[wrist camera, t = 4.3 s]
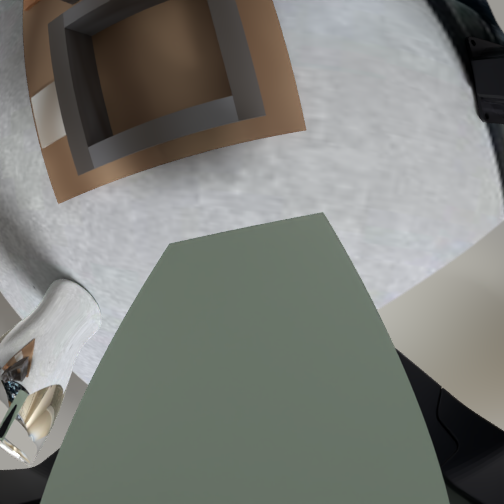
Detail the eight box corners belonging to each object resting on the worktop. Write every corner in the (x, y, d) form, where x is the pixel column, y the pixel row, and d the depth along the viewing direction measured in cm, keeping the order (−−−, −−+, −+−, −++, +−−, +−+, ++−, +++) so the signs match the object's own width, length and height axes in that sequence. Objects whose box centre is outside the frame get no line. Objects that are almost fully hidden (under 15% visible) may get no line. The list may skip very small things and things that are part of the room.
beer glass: (42, 306, 22) (-36, 416, 9) (53, 258, 19) (-58, 385, 6) (96, 346, 24) (35, 472, 10) (116, 306, 21) (33, 464, 8)
